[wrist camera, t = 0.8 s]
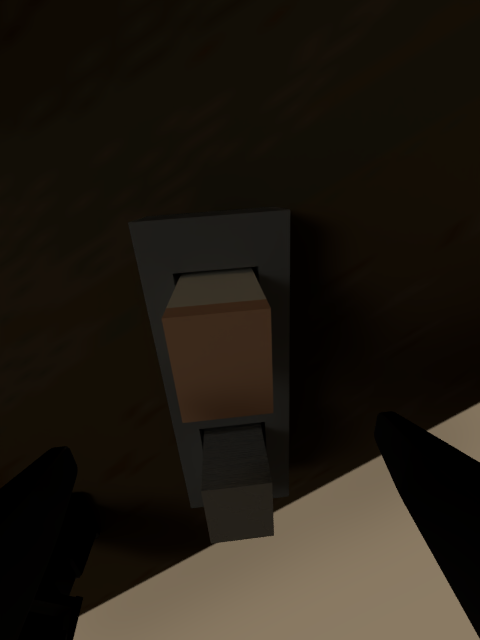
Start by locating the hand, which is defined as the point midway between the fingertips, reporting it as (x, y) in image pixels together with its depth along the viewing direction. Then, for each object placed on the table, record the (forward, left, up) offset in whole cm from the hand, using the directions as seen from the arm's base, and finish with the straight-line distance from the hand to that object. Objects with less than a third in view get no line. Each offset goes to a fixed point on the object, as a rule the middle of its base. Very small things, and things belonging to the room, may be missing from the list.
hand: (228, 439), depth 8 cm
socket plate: (0, -5, -13) cm, 14 cm away
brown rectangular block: (0, 0, -13) cm, 13 cm away
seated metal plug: (0, -11, -13) cm, 17 cm away
